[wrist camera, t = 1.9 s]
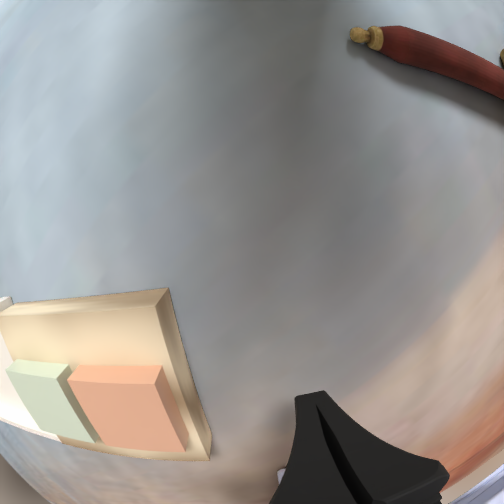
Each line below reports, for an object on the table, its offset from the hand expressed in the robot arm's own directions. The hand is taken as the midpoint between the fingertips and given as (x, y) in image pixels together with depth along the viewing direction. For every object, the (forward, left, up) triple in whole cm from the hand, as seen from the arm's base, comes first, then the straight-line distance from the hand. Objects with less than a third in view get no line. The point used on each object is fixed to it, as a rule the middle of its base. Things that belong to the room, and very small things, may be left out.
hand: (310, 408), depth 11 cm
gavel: (+17, -16, -5) cm, 24 cm away
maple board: (0, +12, -4) cm, 13 cm away
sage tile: (0, +15, -2) cm, 15 cm away
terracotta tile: (0, +9, -2) cm, 9 cm away
